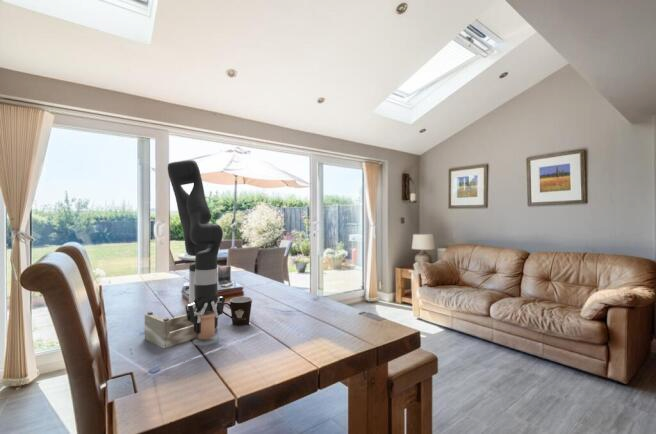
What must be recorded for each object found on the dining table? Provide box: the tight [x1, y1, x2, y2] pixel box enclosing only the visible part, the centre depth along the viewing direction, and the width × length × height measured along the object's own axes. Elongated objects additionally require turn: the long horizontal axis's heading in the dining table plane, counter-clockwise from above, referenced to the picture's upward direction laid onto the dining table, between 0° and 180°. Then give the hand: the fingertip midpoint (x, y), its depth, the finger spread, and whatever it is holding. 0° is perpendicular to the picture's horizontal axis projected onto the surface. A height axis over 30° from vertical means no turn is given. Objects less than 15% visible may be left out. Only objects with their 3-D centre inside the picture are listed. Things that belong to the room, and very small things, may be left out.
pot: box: [197, 311, 216, 339], centre depth 107 cm, size 6×6×8 cm
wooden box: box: [144, 311, 218, 349], centre depth 112 cm, size 20×14×10 cm
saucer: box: [192, 335, 220, 346], centre depth 107 cm, size 8×8×1 cm
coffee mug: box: [222, 296, 253, 327], centre depth 125 cm, size 12×9×10 cm
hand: (205, 330), depth 107 cm, fingers closed on pot, 5 cm apart
